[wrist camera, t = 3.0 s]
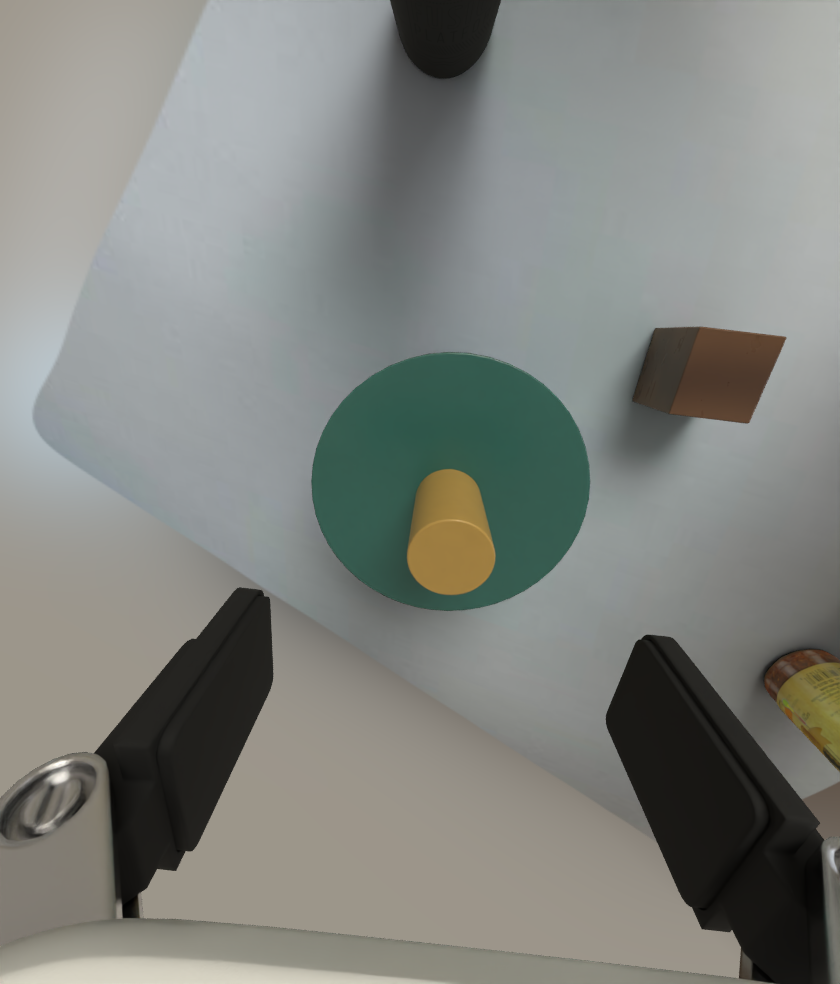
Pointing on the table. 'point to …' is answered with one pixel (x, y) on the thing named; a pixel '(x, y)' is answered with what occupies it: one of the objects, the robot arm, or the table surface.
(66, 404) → the table surface
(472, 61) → the drinking cup
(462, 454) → the tin lid
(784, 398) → the table surface
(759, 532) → the table surface
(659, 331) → the block
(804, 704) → the sauce bottle
